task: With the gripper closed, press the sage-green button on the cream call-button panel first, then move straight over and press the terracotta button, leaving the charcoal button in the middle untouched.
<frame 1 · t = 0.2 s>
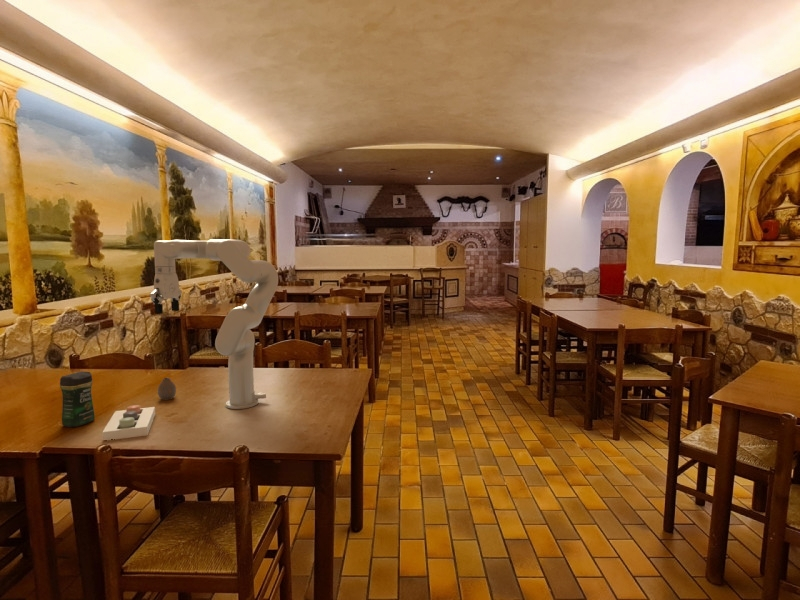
hand: (167, 312, 191), 37 cm above the table, tool pointing down, fingers open, 9 cm apart
button sage: (127, 423, 157), point 4 cm above the table, slide at 0.0 cm
button terracotta: (133, 410, 170), point 4 cm above the table, slide at 0.0 cm
button panel: (131, 426, 164), on the table
vase: (167, 399, 196), on the table
coffee jar: (79, 423, 168), on the table
button charcoal: (130, 417, 164), point 4 cm above the table, slide at 0.0 cm
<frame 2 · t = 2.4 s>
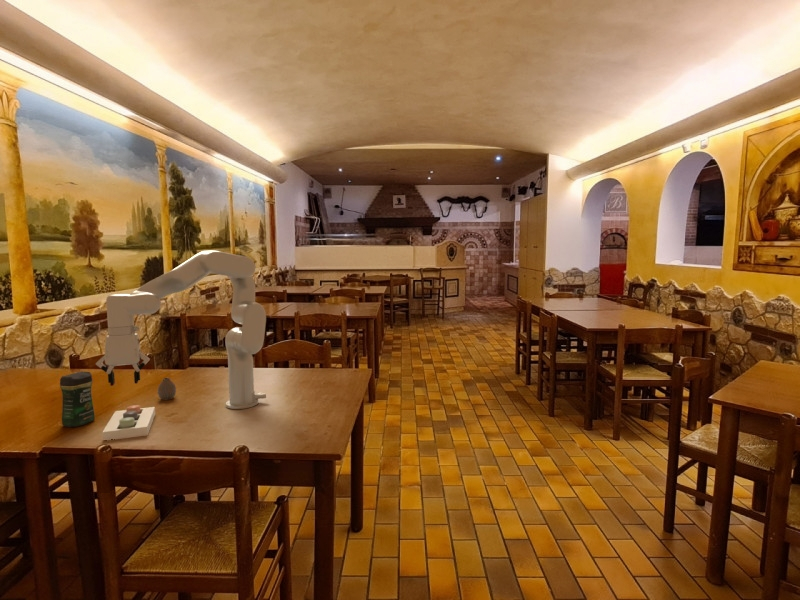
hand: (124, 383, 156), 18 cm above the table, tool pointing down, fingers open, 6 cm apart
nothing on the table moved.
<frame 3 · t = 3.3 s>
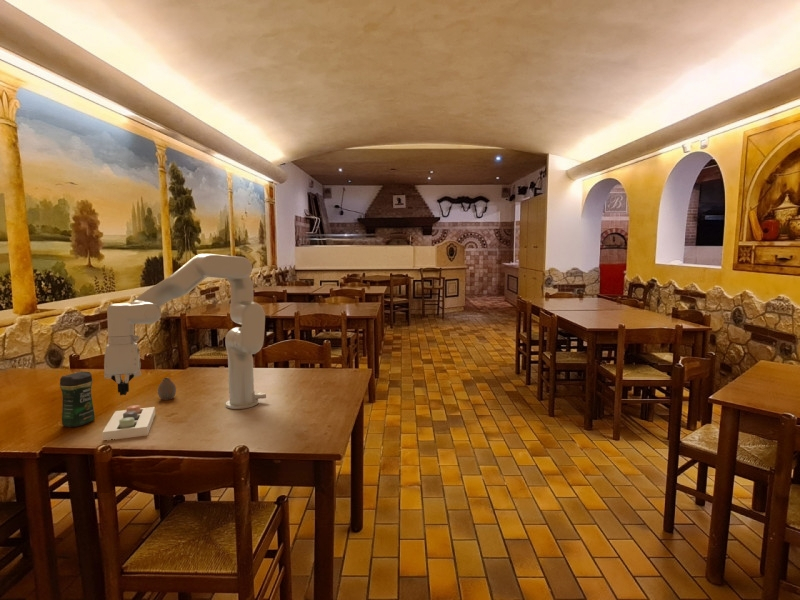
hand: (123, 394, 156), 14 cm above the table, tool pointing down, fingers closed
nothing on the table moved.
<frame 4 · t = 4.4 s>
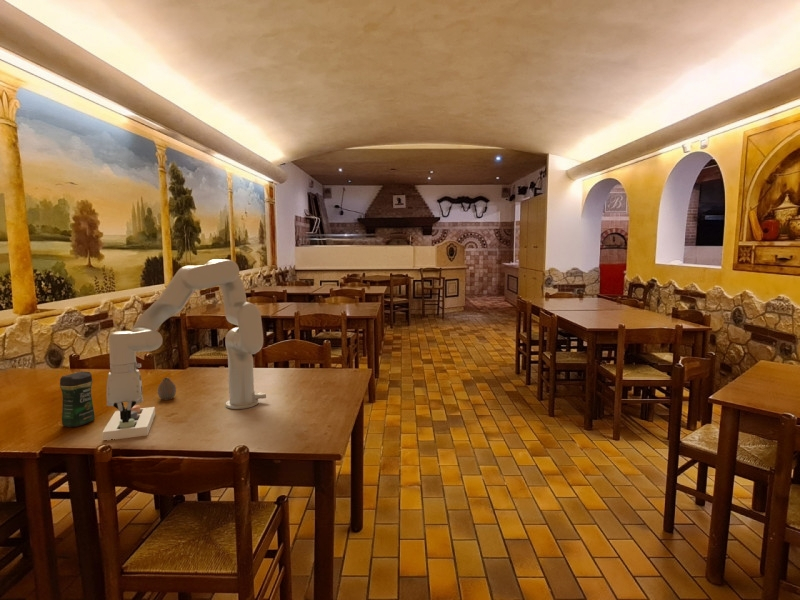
hand: (126, 420, 157), 5 cm above the table, tool pointing down, fingers closed
button sage: (127, 425, 157), point 3 cm above the table, slide at 0.5 cm, touching gripper
everything else where it was.
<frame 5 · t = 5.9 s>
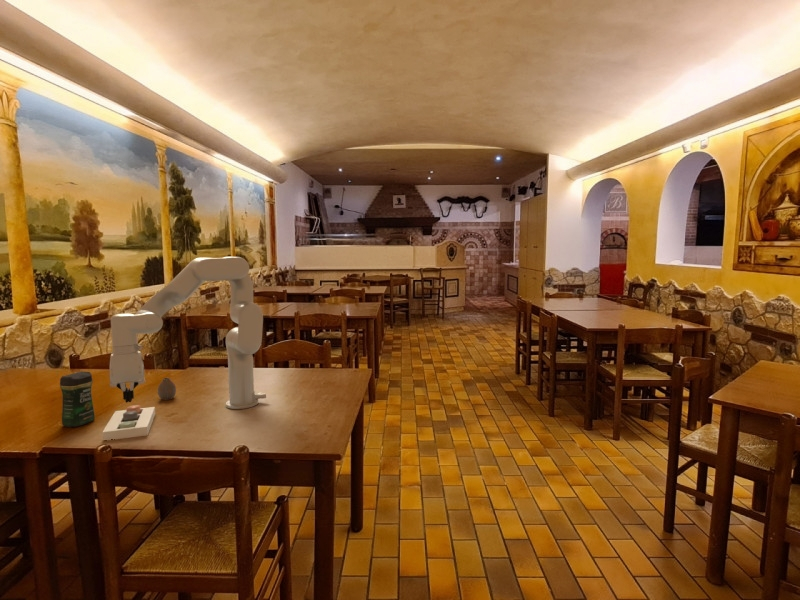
hand: (128, 401, 161), 10 cm above the table, tool pointing down, fingers closed
button sage: (127, 427, 158), point 2 cm above the table, slide at 1.4 cm
everything else where it was.
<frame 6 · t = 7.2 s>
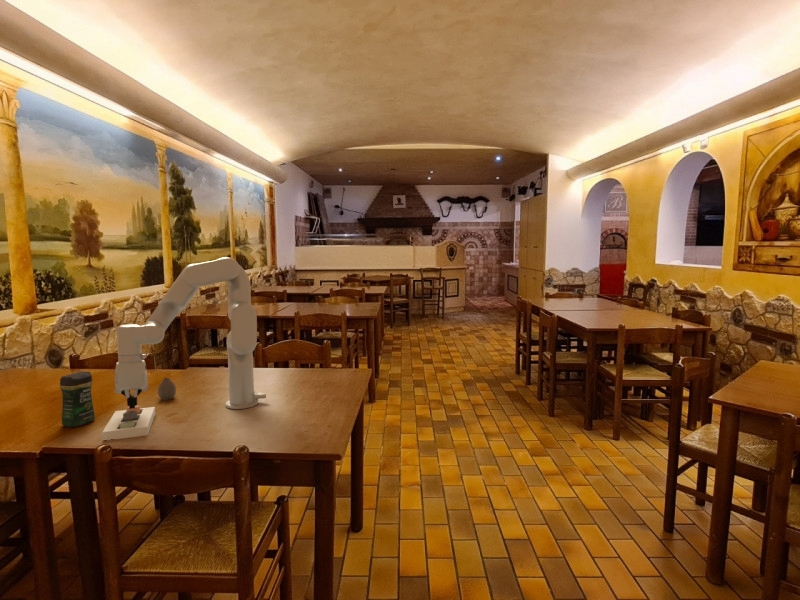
hand: (132, 407, 170), 5 cm above the table, tool pointing down, fingers closed
button terracotta: (133, 411, 170), point 3 cm above the table, slide at 0.1 cm, touching gripper
everything else where it was.
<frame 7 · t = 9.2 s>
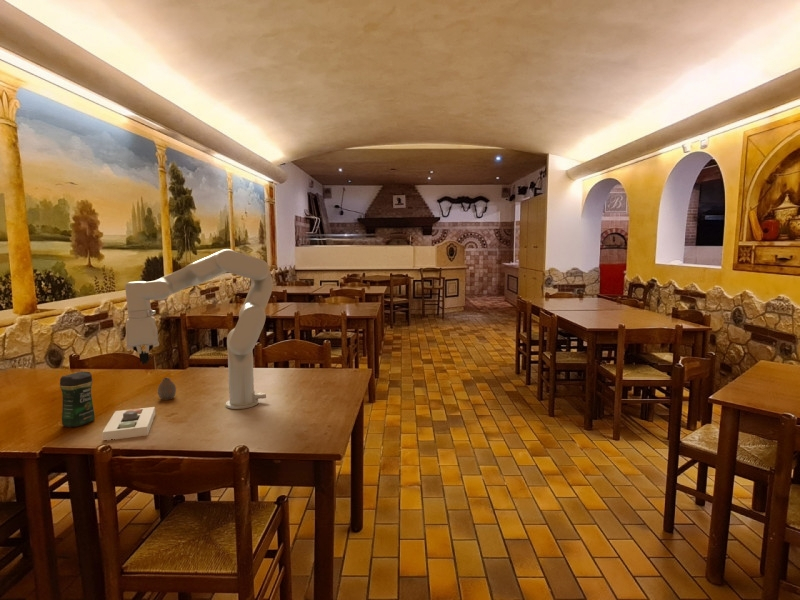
hand: (145, 363, 173), 20 cm above the table, tool pointing down, fingers closed
button terracotta: (133, 414, 170), point 2 cm above the table, slide at 1.4 cm
everything else where it was.
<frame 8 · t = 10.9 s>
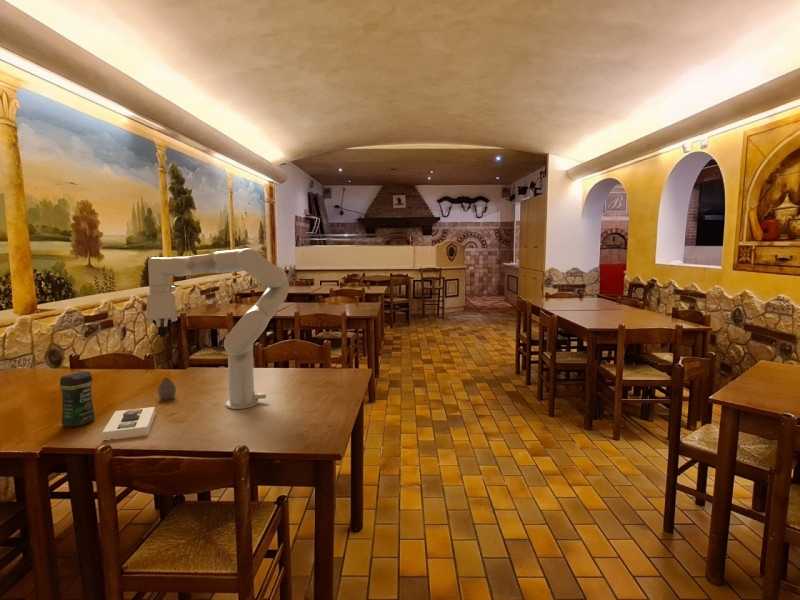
hand: (162, 336, 180), 29 cm above the table, tool pointing down, fingers closed
nothing on the table moved.
at the end: button sage slide at 1.4 cm; button terracotta slide at 1.4 cm; button charcoal slide at 0.0 cm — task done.
